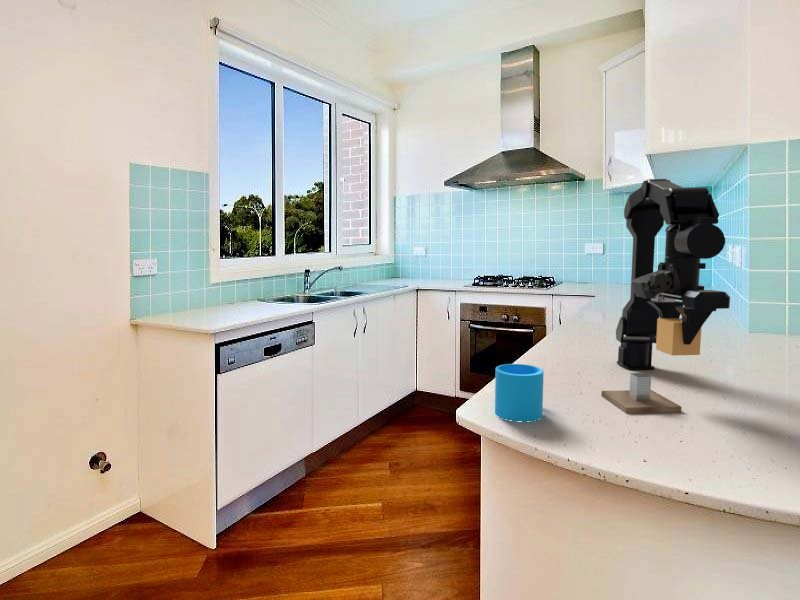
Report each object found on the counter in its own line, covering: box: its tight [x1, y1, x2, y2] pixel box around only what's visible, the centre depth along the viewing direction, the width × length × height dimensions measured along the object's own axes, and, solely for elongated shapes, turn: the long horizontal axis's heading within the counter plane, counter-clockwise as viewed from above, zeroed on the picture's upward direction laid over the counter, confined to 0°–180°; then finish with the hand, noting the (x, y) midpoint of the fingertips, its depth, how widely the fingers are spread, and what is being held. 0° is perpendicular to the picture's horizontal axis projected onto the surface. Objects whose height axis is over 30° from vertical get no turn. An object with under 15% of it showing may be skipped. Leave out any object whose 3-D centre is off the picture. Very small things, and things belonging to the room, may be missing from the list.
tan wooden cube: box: [655, 317, 702, 356], centre depth 93 cm, size 5×5×6 cm
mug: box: [494, 363, 545, 422], centre depth 90 cm, size 12×8×8 cm
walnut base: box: [600, 389, 682, 414], centre depth 94 cm, size 10×10×1 cm
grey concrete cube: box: [629, 372, 652, 401], centre depth 94 cm, size 3×3×4 cm
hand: (677, 341), depth 94 cm, fingers closed on tan wooden cube, 5 cm apart
